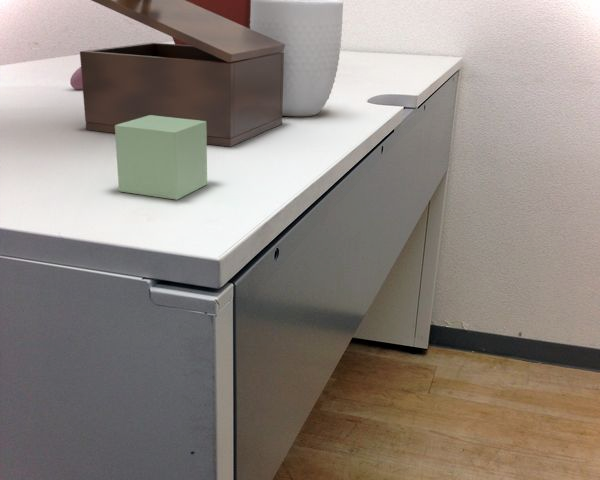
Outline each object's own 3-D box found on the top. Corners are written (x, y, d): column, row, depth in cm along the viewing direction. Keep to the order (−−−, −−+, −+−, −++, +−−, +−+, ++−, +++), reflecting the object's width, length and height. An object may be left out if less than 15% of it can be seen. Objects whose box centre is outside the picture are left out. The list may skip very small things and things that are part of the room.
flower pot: (154, 68, 126) (150, -39, 119) (212, 60, 141) (211, -35, 135) (251, 78, 118) (252, -35, 111) (301, 68, 134) (304, -32, 127)
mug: (233, 100, 97) (233, -6, 92) (311, 99, 100) (316, -3, 95) (261, 120, 84) (263, -1, 79) (350, 119, 87) (357, 2, 82)
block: (118, 191, 55) (114, 125, 53) (152, 176, 59) (149, 114, 57) (177, 200, 54) (175, 132, 52) (207, 184, 58) (206, 121, 56)
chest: (85, 129, 76) (79, 51, 72) (154, 110, 88) (152, 42, 85) (230, 146, 71) (230, 63, 68) (282, 123, 83) (284, 52, 80)
